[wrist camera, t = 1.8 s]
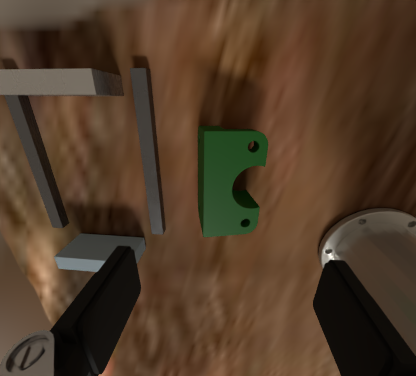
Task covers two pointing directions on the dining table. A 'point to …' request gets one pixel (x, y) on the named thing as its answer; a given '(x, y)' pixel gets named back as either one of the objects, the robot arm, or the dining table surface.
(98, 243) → the block
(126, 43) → the dining table surface
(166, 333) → the dining table surface
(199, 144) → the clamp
